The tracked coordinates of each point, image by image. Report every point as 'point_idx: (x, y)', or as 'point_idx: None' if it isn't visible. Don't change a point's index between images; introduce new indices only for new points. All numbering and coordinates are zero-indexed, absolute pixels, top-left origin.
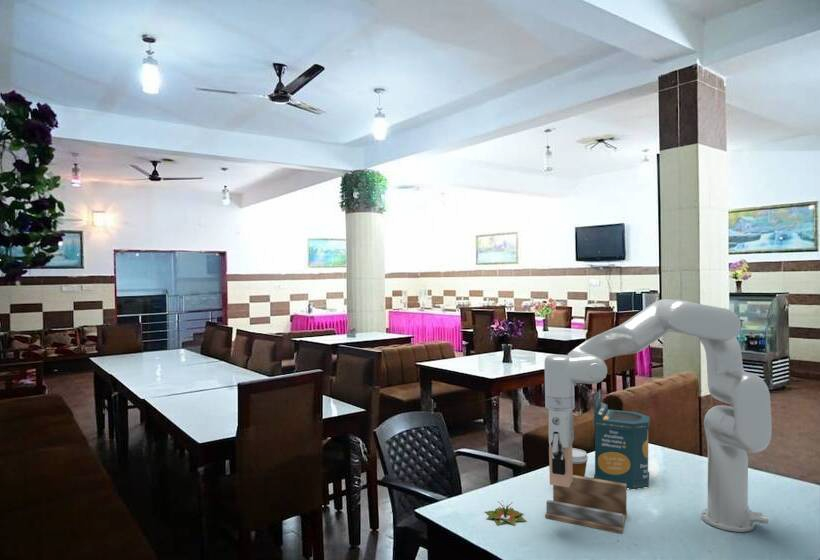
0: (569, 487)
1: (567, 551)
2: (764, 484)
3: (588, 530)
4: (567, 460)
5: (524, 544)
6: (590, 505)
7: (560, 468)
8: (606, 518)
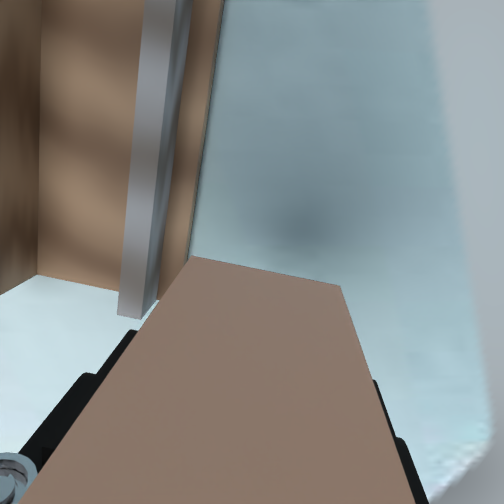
0: None
1: (444, 218)
2: None
3: (239, 130)
4: (393, 475)
5: (415, 362)
6: (32, 114)
7: (412, 467)
8: (180, 36)
